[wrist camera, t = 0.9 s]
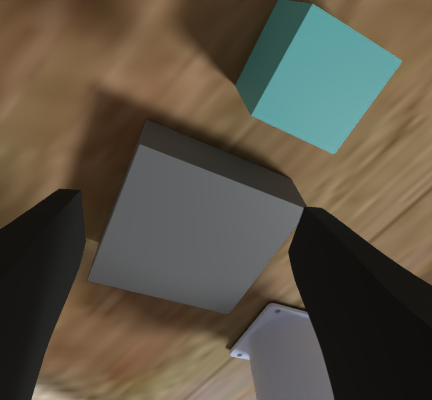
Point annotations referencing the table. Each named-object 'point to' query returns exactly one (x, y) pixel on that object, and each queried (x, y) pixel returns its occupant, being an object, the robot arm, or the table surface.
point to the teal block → (313, 74)
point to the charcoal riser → (193, 222)
